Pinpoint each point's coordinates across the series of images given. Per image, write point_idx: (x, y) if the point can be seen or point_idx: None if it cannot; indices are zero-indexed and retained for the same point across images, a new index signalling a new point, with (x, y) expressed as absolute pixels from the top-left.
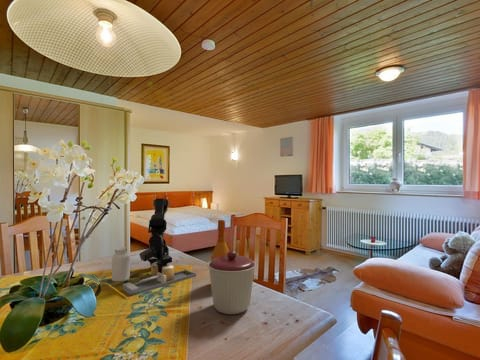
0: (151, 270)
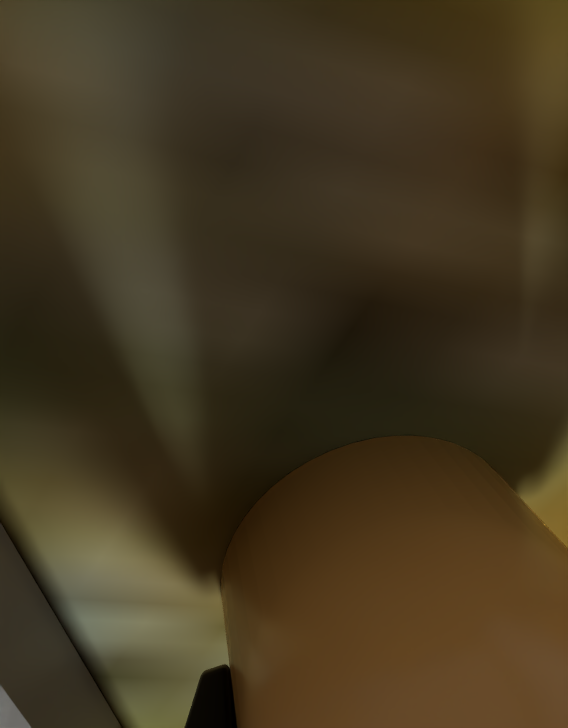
0: (496, 639)
